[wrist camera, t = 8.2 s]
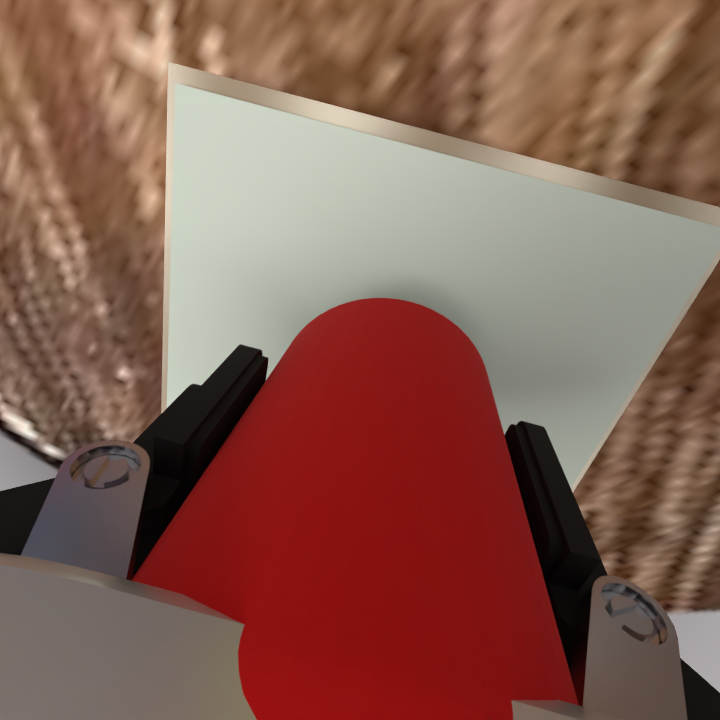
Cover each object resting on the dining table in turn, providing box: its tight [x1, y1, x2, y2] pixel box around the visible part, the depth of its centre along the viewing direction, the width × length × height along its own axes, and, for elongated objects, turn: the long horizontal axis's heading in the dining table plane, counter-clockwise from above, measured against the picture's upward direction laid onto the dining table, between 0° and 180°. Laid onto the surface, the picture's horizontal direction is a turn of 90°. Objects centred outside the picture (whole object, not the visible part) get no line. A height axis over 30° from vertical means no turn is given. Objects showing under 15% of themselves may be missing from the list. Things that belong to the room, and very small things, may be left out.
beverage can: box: [131, 298, 579, 720], centre depth 9 cm, size 6×6×12 cm
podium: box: [161, 62, 720, 492], centre depth 18 cm, size 18×14×4 cm
